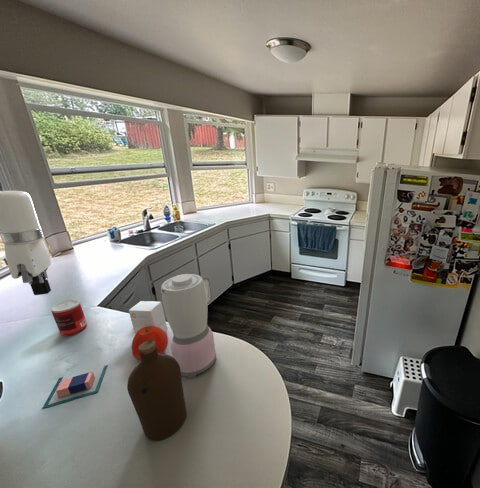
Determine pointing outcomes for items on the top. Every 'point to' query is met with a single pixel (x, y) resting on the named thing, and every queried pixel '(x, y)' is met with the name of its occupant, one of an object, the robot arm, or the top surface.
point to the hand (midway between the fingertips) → (43, 293)
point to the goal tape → (72, 397)
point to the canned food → (69, 317)
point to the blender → (189, 322)
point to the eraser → (75, 384)
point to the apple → (149, 339)
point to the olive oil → (157, 393)
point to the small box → (147, 315)
